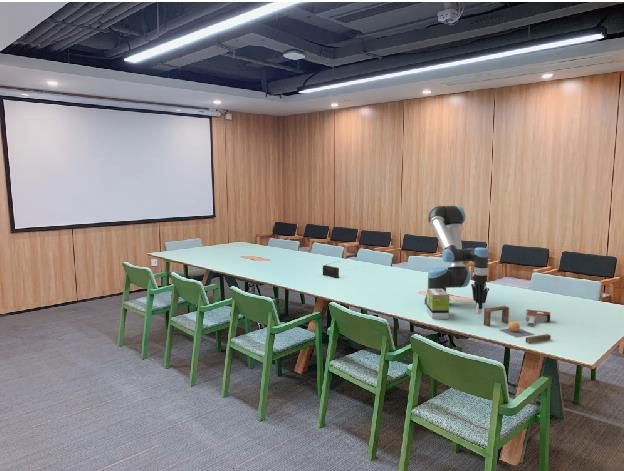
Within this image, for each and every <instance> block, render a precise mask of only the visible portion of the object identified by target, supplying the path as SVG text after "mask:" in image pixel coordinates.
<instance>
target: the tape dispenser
mask: <svg viewBox="0 0 624 471" xmlns="http://www.w3.org/2000/svg"><path fill="white" fill-rule="evenodd" d="M525 314H526V316H525V317H526V318H525V320H526V321H527V323H526V326H527V327H530V328H531V327H532V328H534V327H535V326H536V324H537V323H538V324H539V323H543V322H546V323H550V322H551V312H550V311H543V310H533V309H526V310H525Z"/></svg>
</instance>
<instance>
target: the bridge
mask: <svg viewBox="0 0 624 471" xmlns="http://www.w3.org/2000/svg"><path fill="white" fill-rule="evenodd" d="M499 311H501V323H503V324H506V325H507V324H509V317H510V316H509V314H510V307H509V306H506V305H502V306H493V307H486V308H484V309H483V326H486V327H491V318H492V312H499Z"/></svg>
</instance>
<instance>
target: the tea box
mask: <svg viewBox="0 0 624 471" xmlns="http://www.w3.org/2000/svg"><path fill="white" fill-rule="evenodd" d="M426 295H427V304H426V312H427V314H428V315H429V317H430V318H431V319H432V320H449V319H450V294H449V293H448V292H447V290H446V291H445V290H443V289H428V288H426Z"/></svg>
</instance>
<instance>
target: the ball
mask: <svg viewBox="0 0 624 471" xmlns="http://www.w3.org/2000/svg"><path fill="white" fill-rule="evenodd" d="M520 327H521V326H520V323H518V322H517V321H510V322H508V328H509V329H510V330H511V331H512V332H517V331H518V330H519V329H521V328H520Z"/></svg>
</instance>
